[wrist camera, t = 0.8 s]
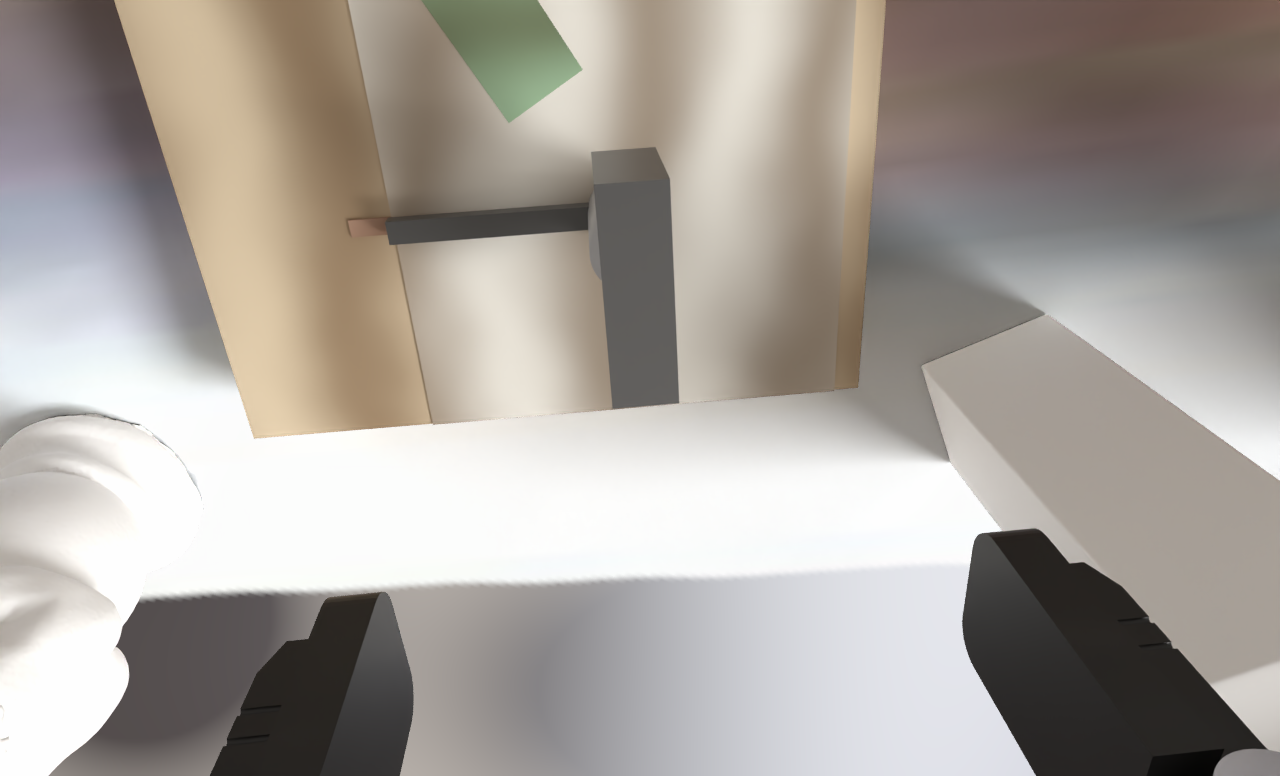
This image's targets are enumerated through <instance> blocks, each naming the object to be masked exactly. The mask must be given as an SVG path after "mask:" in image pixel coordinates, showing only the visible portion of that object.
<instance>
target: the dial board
mask: <svg viewBox="0 0 1280 776" xmlns="http://www.w3.org/2000/svg"><path fill="white" fill-rule="evenodd" d="M114 2H115V5H116V8H117V11H118V14H119V17H120V20H121V24H122V27H123V30H124V33H125V36H126V39H127V42H128V45H129V49H130V52H131V55H132V58H133V61H134V64H135V67H136V70H137V74H138V77H139V80H140V83H141V86H142V89H143V92H144V96H145V99H146V102H147V105H148V108H149V111H150V114H151V117H152V121H153V124H154V127H155V130H156V133H157V136H158V139H159V142H160V146H161V149H162V152H163V155H164V158H165V161H166V164H167V168H168V171H169V174H170V177H171V180H172V183H173V186H174V189H175V193H176V196H177V199H178V202H179V205H180V208H181V211H182V214H183V218H184V221H185V224H186V227H187V230H188V233H189V236H190V240H191V243H192V246H193V249H194V252H195V255H196V258H197V261H198V265H199V268H200V271H201V274H202V277H203V280H204V283H205V286H206V290H207V293H208V296H209V299H210V302H211V305H212V308H213V312H214V315H215V318H216V321H217V324H218V327H219V330H220V333H221V337H222V340H223V343H224V346H225V349H226V352H227V355H228V358H229V362H230V365H231V368H232V371H233V374H234V377H235V380H236V384H237V387H238V390H239V393H240V396H241V399H242V402H243V405H244V409H245V412H246V415H247V418H248V421H249V424H250V427H251V430H252V434H253V437H254V439H255V438H267V437H278V436H290V435H302V434H314V433H326V432H338V431H349V430H361V429H373V428H385V427H397V426H409V425H421V424H432V423H433V425H435V424H447V423H459V422H470V421H482V420H494V419H506V418H518V417H530V416H542V415H553V414H565V413H577V412H589V411H601V410H613V409H612V397H611V385H610V373H609V361H608V349H607V337H606V325H605V313H604V302H603V290H602V281H601V280H600V279H599V277H598V276H597V275H596V273H595V272H594V270H593V268H592V265H591V262H590V253H589V231H588V230H582V231H569V232H556V233H543V234H530V235H517V236H504V237H491V238H478V239H465V240H452V241H439V242H426V243H413V244H400V245H389V240H388V235H387V231H386V226H385V221H386V220H387V219H388V217H401V216H415V215H428V214H441V213H454V212H468V211H481V210H494V209H507V208H521V207H534V206H547V205H561V204H574V203H587V202H589V198H590V196H591V194H592V192H593V190H594V183H593V170H592V157H591V152H595V151H608V150H622V149H635V148H649V147H656V149H657V152H658V154H659V156H660V158H661V160H662V162H663V165H664V167H665V169H666V171H667V173H668V176H669V178H670V190H671V214H672V239H673V263H674V287H675V311H676V336H677V360H678V384H679V403H677V404H684V403H695V402H707V401H719V400H731V399H743V398H755V397H767V396H778V395H790V394H802V393H814V392H826V391H834V390H835V389H847V388H858V382H859V368H860V354H861V340H862V327H863V313H864V299H865V285H866V271H867V257H868V243H869V229H870V215H871V201H872V188H873V174H874V160H875V146H876V132H877V118H878V104H879V90H880V76H881V63H882V49H883V35H884V21H885V7H886V0H114ZM666 405H672V404H666ZM654 406H660V405H654ZM642 407H648V406H642ZM630 408H636V407H630ZM618 409H624V408H618Z"/></svg>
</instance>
